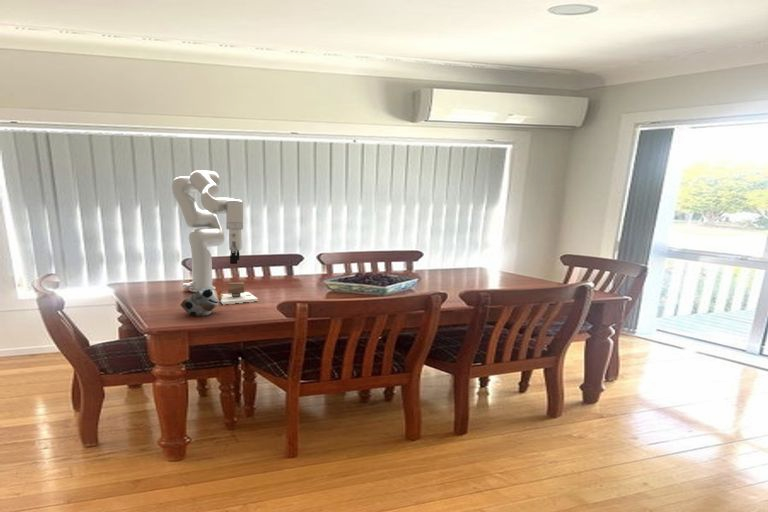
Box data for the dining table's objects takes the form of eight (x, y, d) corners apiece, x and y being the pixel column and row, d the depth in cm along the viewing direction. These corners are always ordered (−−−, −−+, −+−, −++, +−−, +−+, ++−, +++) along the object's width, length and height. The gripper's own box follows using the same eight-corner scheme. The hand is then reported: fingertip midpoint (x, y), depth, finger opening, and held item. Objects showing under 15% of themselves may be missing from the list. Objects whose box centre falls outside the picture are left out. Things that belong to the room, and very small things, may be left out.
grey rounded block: (204, 307, 226) (218, 281, 224) (217, 322, 220) (232, 295, 218) (174, 303, 214) (189, 276, 212) (187, 320, 207) (203, 291, 205)
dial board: (223, 305, 232) (222, 301, 231) (215, 297, 245) (215, 294, 245) (257, 301, 240) (257, 298, 239) (248, 294, 253) (248, 291, 253)
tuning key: (243, 296, 241) (243, 283, 240) (228, 297, 239) (228, 284, 238) (242, 292, 251) (242, 279, 250) (228, 292, 249) (227, 280, 248)
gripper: (241, 228, 230) (241, 265, 232) (244, 224, 246) (244, 258, 249) (224, 227, 228) (224, 265, 231) (228, 223, 245) (228, 258, 248)
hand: (234, 261), depth 240 cm, fingers open, 9 cm apart
